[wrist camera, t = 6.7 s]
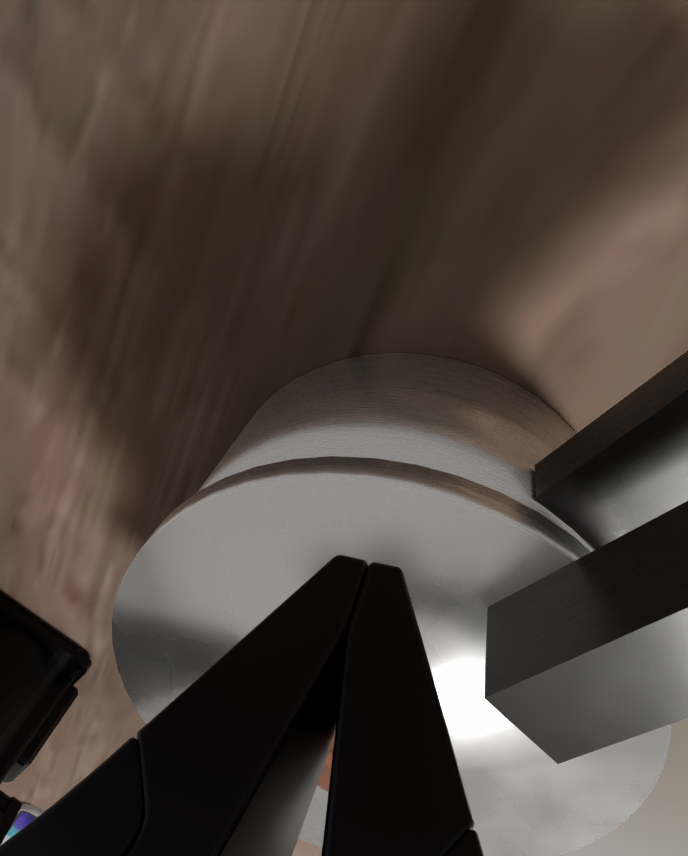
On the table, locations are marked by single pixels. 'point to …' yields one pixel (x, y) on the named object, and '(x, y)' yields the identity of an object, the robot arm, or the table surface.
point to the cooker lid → (444, 628)
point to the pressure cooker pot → (485, 437)
